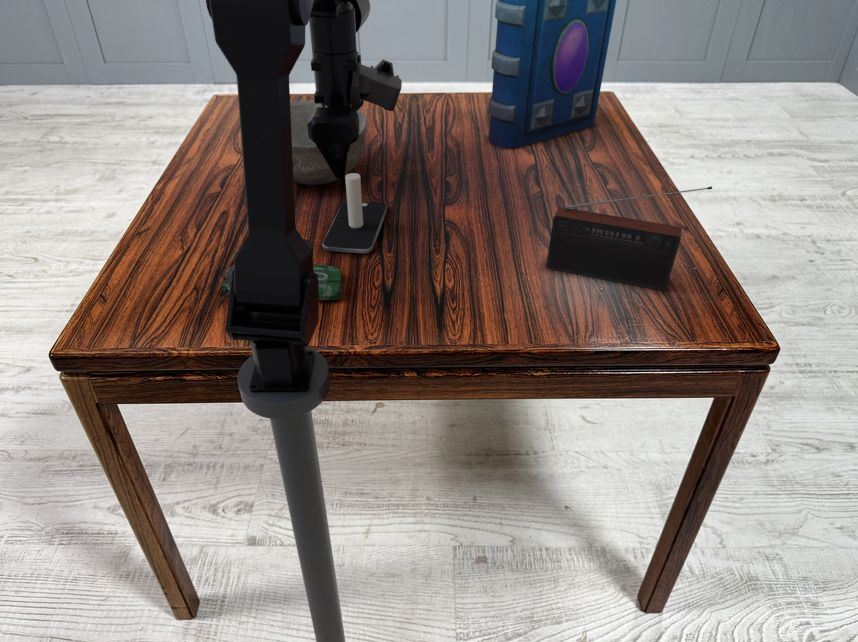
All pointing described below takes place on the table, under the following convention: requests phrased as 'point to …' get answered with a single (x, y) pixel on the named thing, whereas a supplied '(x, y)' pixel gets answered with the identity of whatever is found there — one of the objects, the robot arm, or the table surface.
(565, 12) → the book
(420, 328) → the table surface
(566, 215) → the radio
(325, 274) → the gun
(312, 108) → the bowl
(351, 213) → the white cylinder
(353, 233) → the smartphone
